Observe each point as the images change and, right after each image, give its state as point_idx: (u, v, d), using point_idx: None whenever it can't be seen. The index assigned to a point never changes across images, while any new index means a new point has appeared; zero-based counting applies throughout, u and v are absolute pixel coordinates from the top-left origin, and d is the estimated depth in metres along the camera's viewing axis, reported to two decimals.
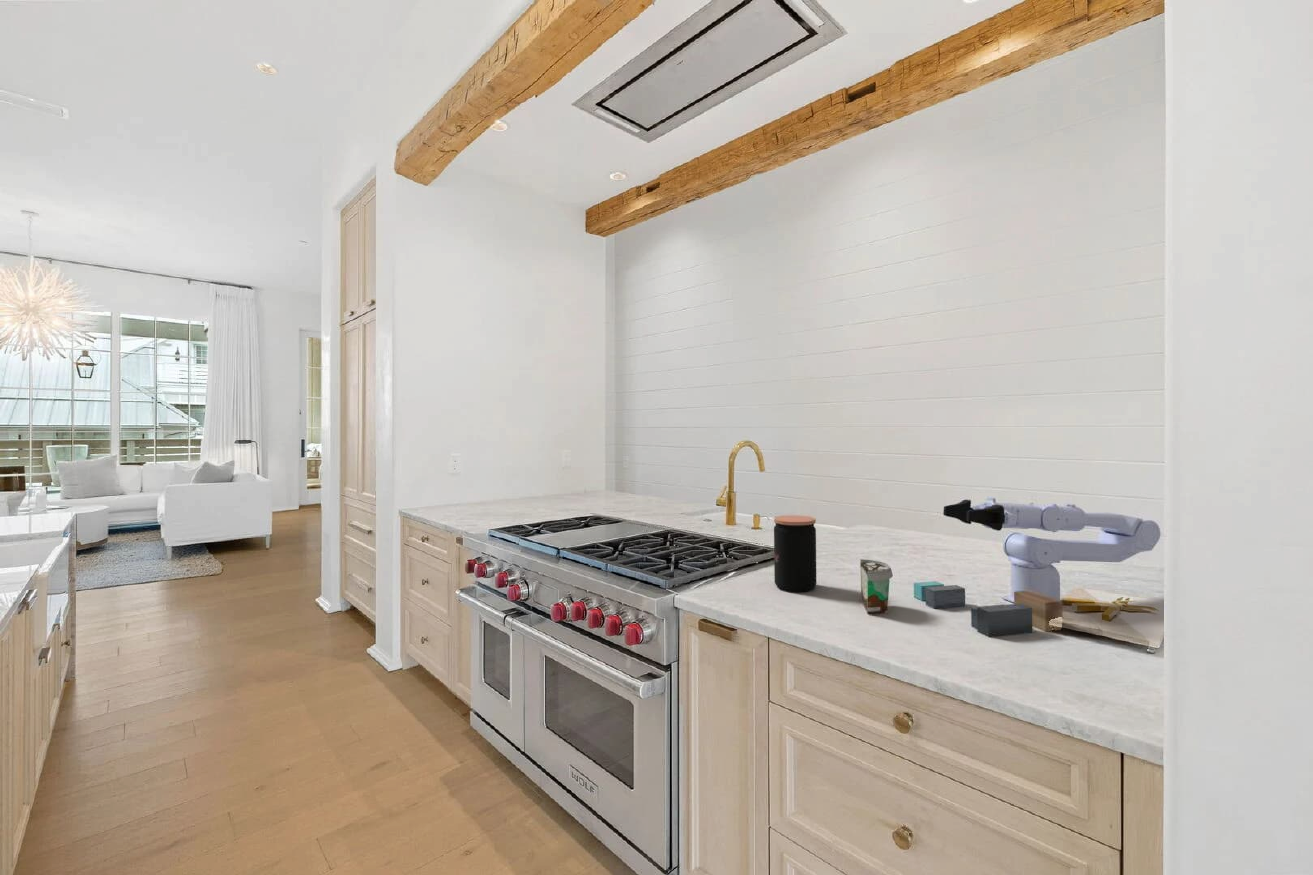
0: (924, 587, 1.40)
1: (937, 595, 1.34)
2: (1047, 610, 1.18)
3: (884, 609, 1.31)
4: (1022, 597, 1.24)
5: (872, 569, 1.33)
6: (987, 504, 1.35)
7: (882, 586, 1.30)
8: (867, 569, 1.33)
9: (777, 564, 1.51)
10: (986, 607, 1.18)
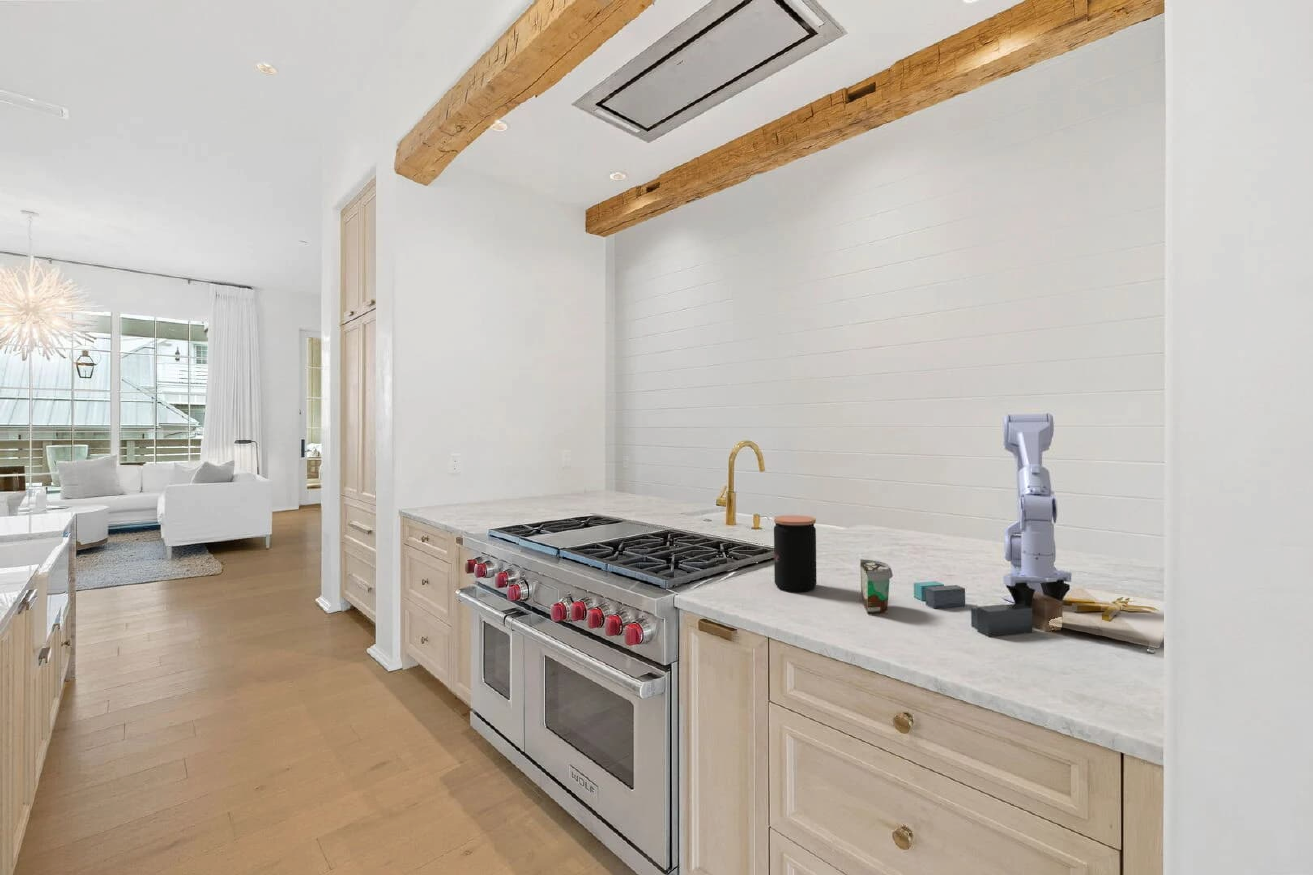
0: (924, 587, 1.40)
1: (937, 595, 1.34)
2: (1047, 610, 1.18)
3: (884, 609, 1.31)
4: None
5: (872, 569, 1.33)
6: None
7: (882, 586, 1.30)
8: (867, 569, 1.33)
9: (777, 564, 1.51)
10: (986, 607, 1.18)
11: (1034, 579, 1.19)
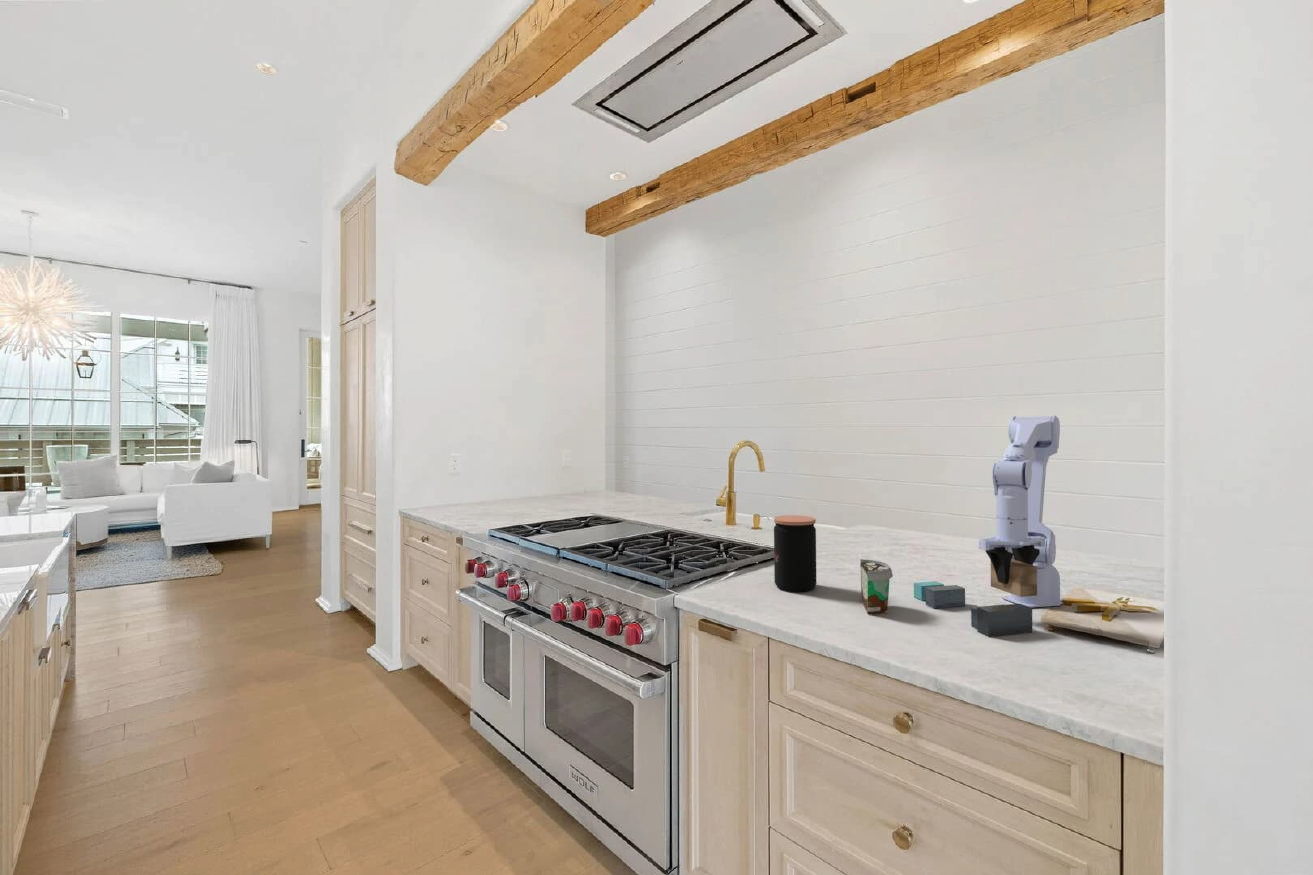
0: (924, 587, 1.40)
1: (937, 595, 1.34)
2: (1022, 575, 1.19)
3: (884, 609, 1.31)
4: None
5: (872, 569, 1.33)
6: (1018, 544, 1.21)
7: (882, 586, 1.30)
8: (867, 569, 1.33)
9: (777, 564, 1.51)
10: (986, 607, 1.18)
11: (1008, 543, 1.21)
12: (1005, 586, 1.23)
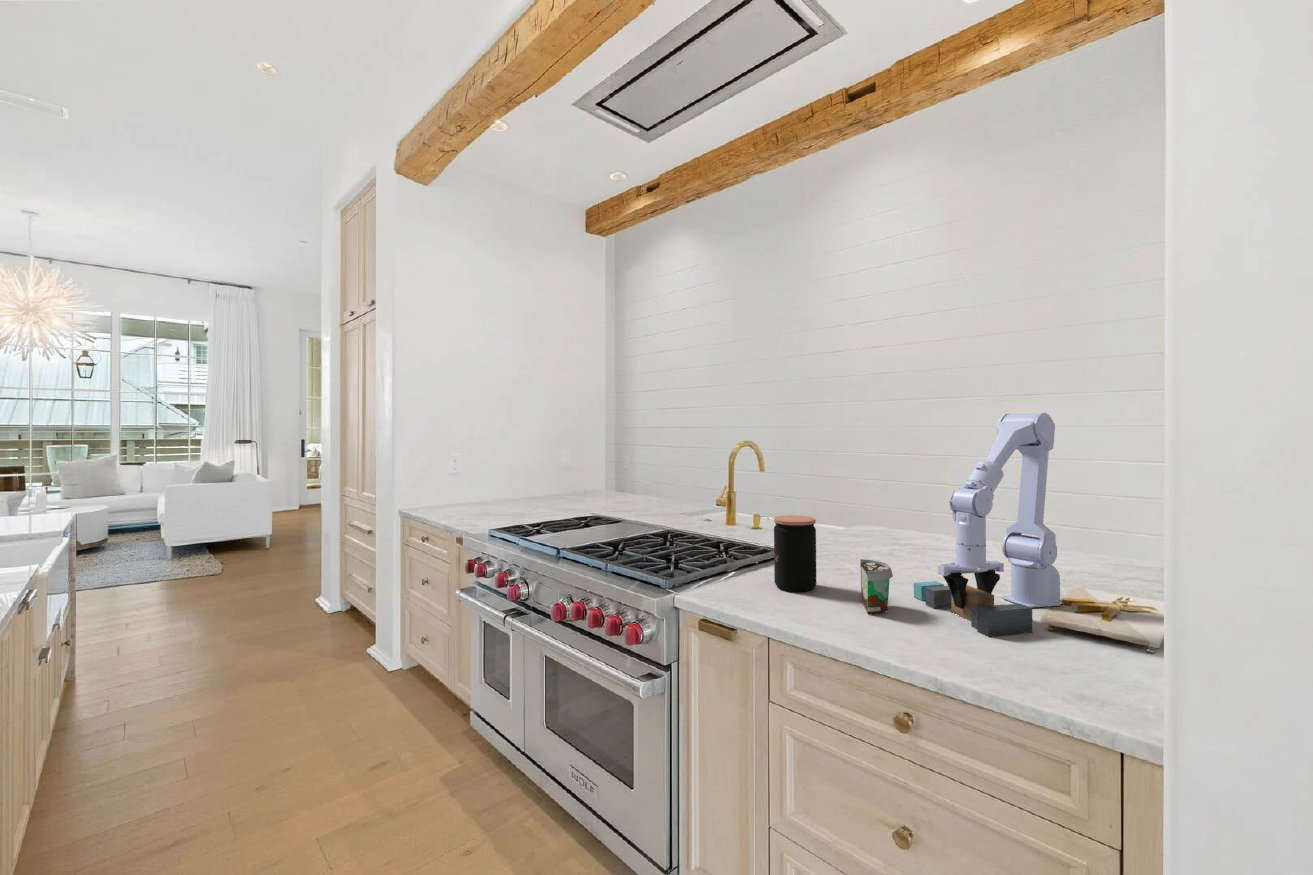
0: (924, 587, 1.40)
1: (937, 595, 1.34)
2: (979, 604, 1.23)
3: (884, 609, 1.31)
4: None
5: (872, 569, 1.33)
6: None
7: (882, 586, 1.30)
8: (867, 569, 1.33)
9: (777, 564, 1.51)
10: (986, 607, 1.18)
11: (966, 569, 1.24)
12: (964, 614, 1.27)
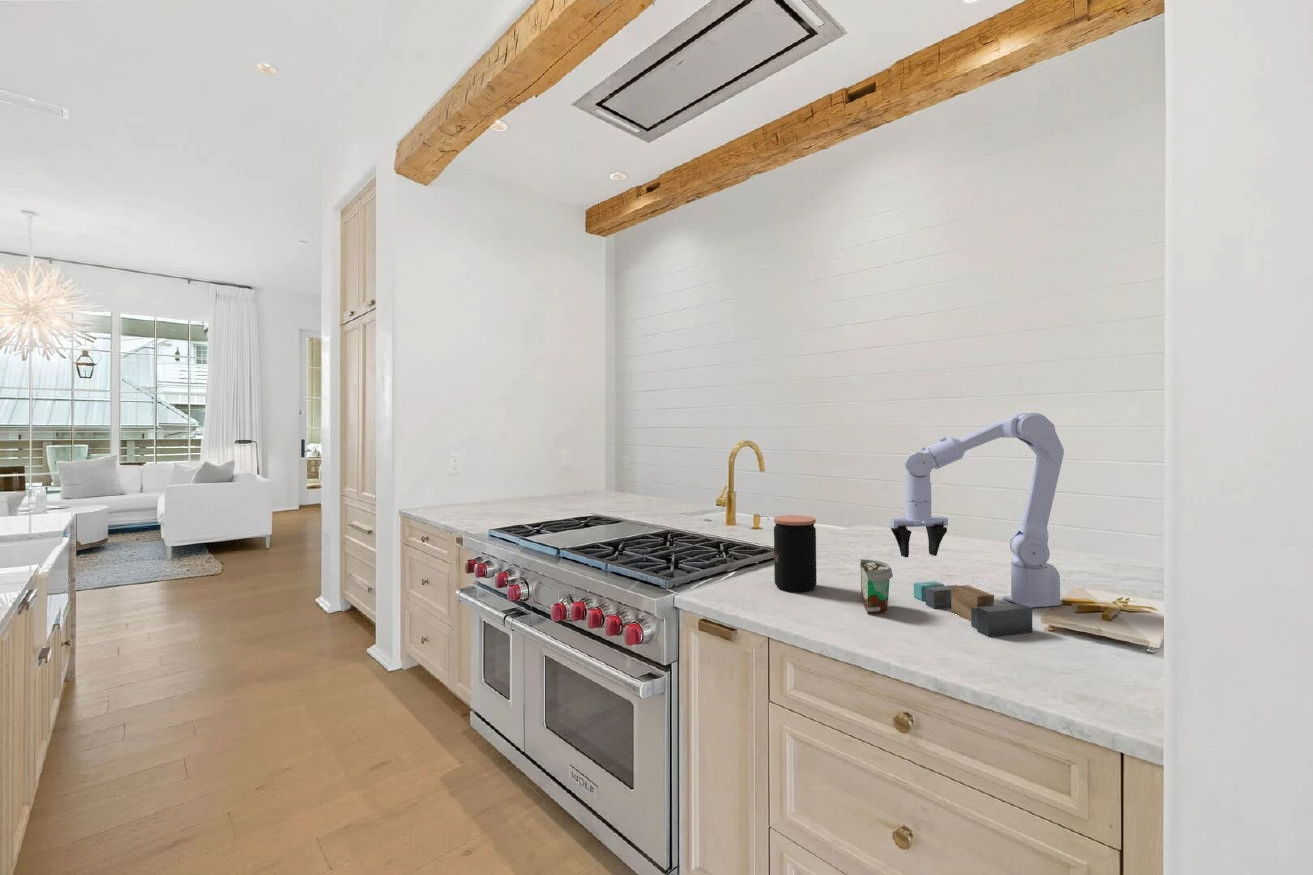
0: (924, 587, 1.40)
1: (937, 595, 1.34)
2: (979, 604, 1.23)
3: (884, 609, 1.31)
4: (958, 591, 1.28)
5: (872, 569, 1.33)
6: (922, 523, 1.42)
7: (882, 586, 1.30)
8: (867, 569, 1.33)
9: (777, 564, 1.51)
10: (986, 607, 1.18)
11: (913, 522, 1.42)
12: (964, 614, 1.27)
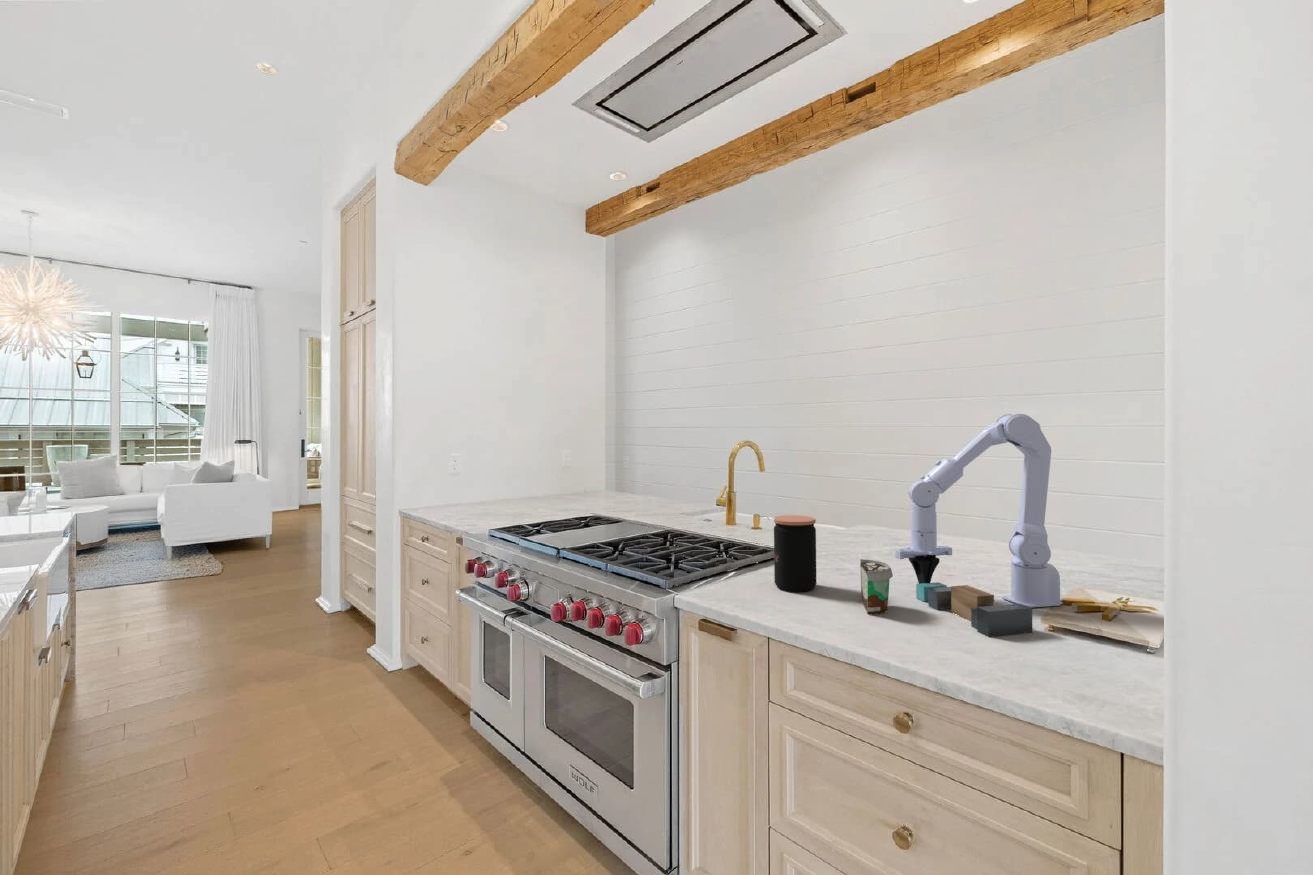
0: (927, 588, 1.39)
1: (940, 597, 1.33)
2: (979, 604, 1.23)
3: (884, 609, 1.31)
4: (958, 591, 1.28)
5: (872, 569, 1.33)
6: None
7: (882, 586, 1.30)
8: (867, 569, 1.33)
9: (777, 564, 1.51)
10: (986, 607, 1.18)
11: (919, 553, 1.40)
12: (964, 614, 1.27)
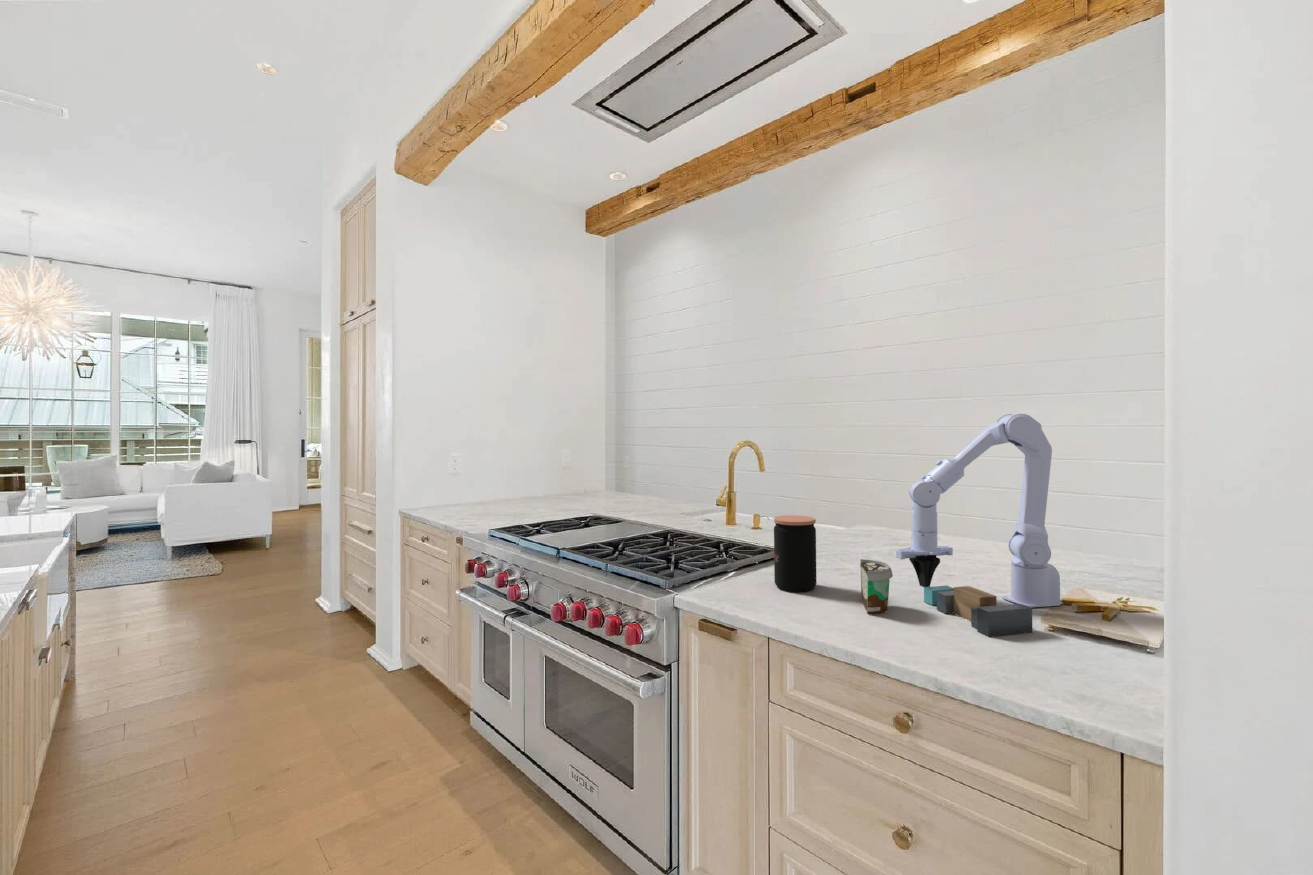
0: (935, 592, 1.36)
1: (949, 600, 1.30)
2: (981, 605, 1.22)
3: (884, 609, 1.31)
4: (960, 592, 1.28)
5: (872, 569, 1.33)
6: None
7: (882, 586, 1.30)
8: (867, 569, 1.33)
9: (777, 564, 1.51)
10: (986, 607, 1.18)
11: (920, 553, 1.40)
12: (966, 615, 1.26)
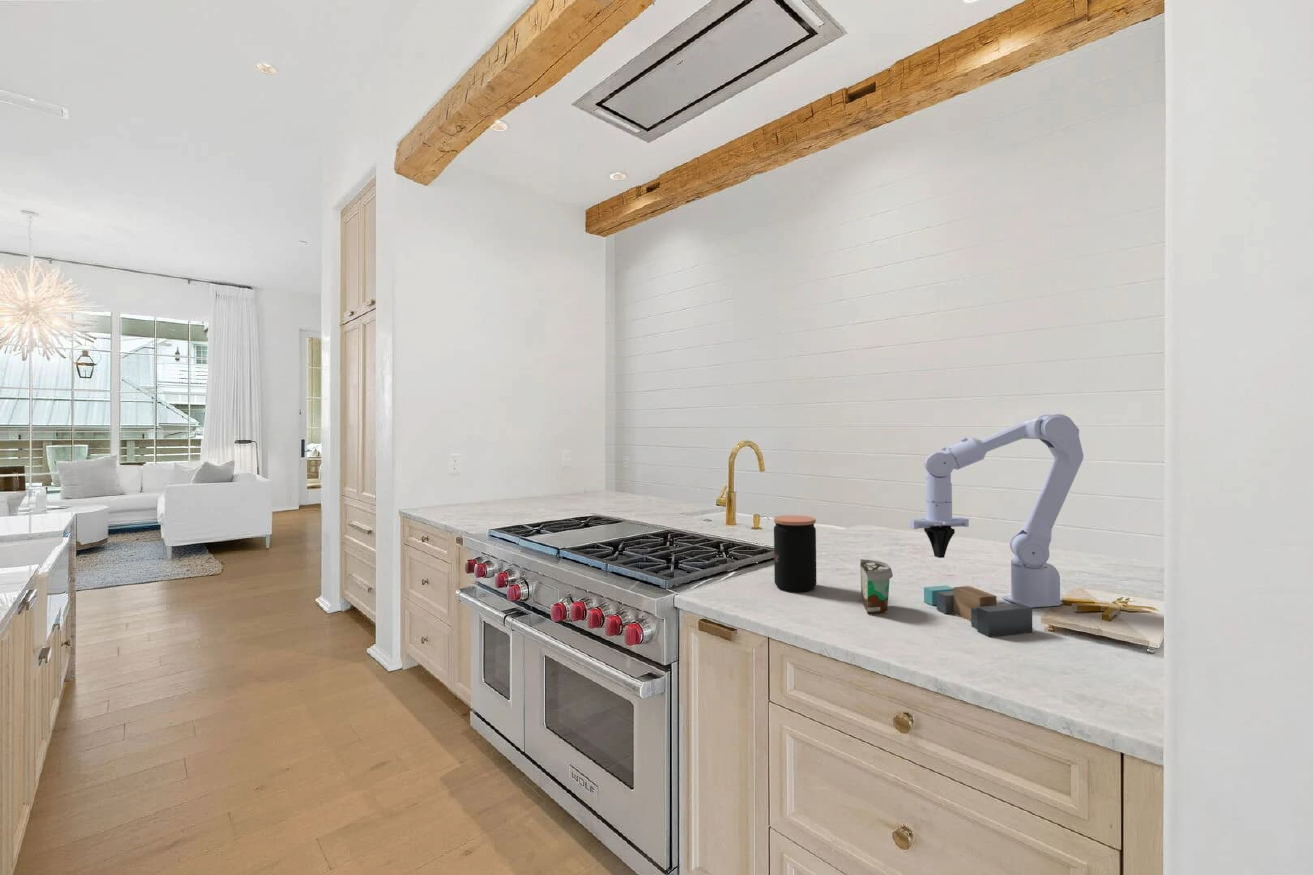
0: (935, 592, 1.36)
1: (949, 600, 1.30)
2: (981, 605, 1.22)
3: (884, 609, 1.31)
4: (960, 592, 1.28)
5: (872, 569, 1.33)
6: None
7: (882, 586, 1.30)
8: (867, 569, 1.33)
9: (777, 564, 1.51)
10: (986, 607, 1.18)
11: (934, 523, 1.41)
12: (966, 615, 1.26)
